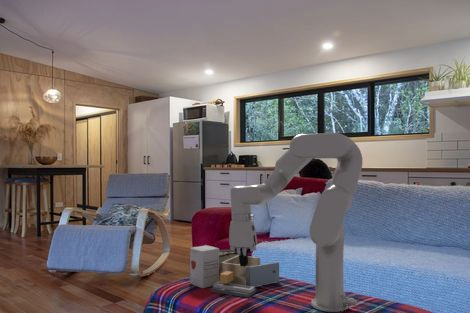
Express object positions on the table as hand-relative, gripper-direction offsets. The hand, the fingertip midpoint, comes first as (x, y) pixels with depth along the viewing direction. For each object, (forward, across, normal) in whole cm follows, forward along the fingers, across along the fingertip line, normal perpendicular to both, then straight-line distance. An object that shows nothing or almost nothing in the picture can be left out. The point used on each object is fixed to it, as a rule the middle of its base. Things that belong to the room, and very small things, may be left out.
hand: (243, 265), depth 151 cm
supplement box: (+10, +20, -3) cm, 23 cm away
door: (+11, -2, -12) cm, 16 cm away
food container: (+10, +21, -22) cm, 32 cm away
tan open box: (+10, +8, -13) cm, 19 cm away
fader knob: (+9, +8, 0) cm, 12 cm away
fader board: (+10, +5, 0) cm, 11 cm away
